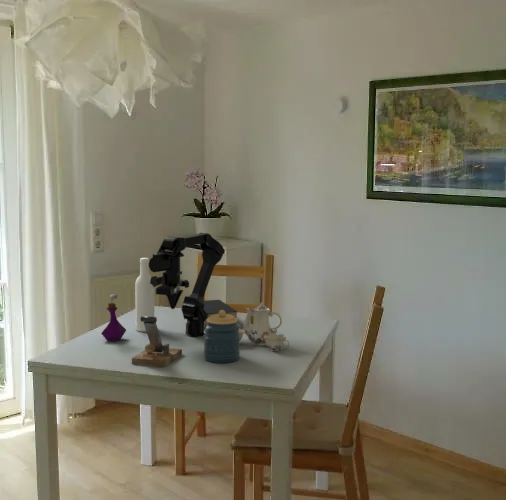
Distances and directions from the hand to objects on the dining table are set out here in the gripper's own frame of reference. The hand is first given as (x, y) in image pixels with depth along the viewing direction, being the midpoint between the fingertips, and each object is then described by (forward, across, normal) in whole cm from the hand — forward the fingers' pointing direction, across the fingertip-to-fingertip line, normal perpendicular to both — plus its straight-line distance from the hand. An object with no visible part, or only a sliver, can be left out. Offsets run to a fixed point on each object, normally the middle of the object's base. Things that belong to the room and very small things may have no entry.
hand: (172, 308), depth 256 cm
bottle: (+13, -13, -18) cm, 26 cm away
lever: (+10, +22, +4) cm, 24 cm away
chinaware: (+13, -8, +32) cm, 36 cm away
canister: (+13, +14, +25) cm, 32 cm away
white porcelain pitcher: (+13, -27, +23) cm, 37 cm away
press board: (+13, +22, +4) cm, 26 cm away
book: (+14, -37, +1) cm, 40 cm away
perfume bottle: (+13, +6, -23) cm, 27 cm away
